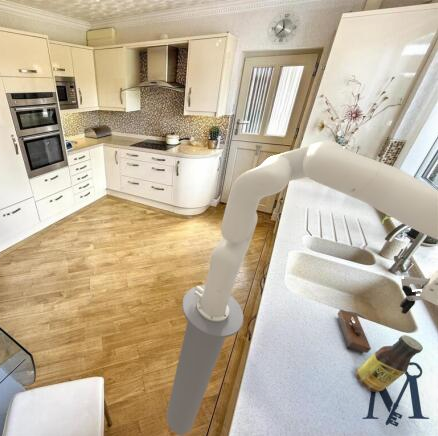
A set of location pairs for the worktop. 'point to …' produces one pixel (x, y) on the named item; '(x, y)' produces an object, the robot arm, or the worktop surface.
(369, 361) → the sauce bottle
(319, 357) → the worktop surface
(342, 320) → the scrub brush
